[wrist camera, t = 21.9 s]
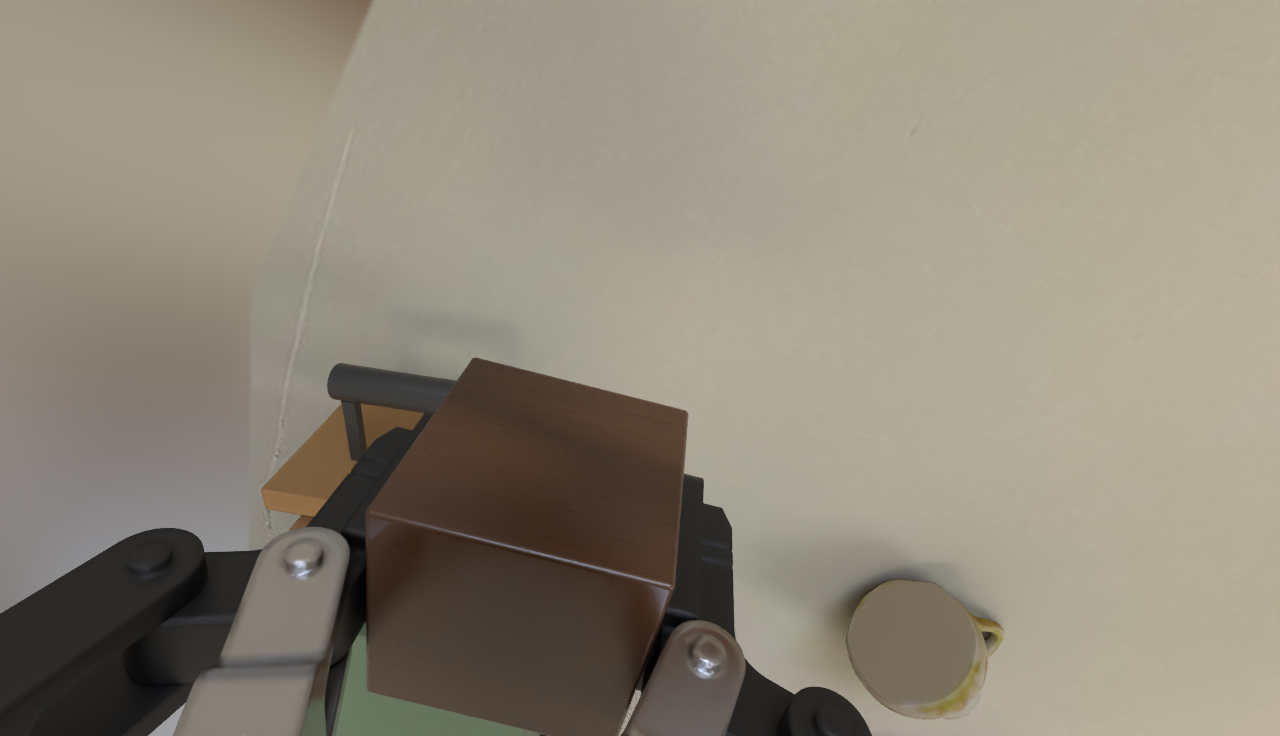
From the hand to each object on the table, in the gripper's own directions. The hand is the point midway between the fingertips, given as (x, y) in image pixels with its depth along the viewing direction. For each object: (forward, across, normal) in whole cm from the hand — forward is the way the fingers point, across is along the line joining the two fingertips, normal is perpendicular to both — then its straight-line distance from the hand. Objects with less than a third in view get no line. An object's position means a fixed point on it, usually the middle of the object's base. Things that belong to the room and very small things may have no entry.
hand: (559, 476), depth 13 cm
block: (0, 0, 0) cm, 0 cm away
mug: (+18, -23, +20) cm, 35 cm away
